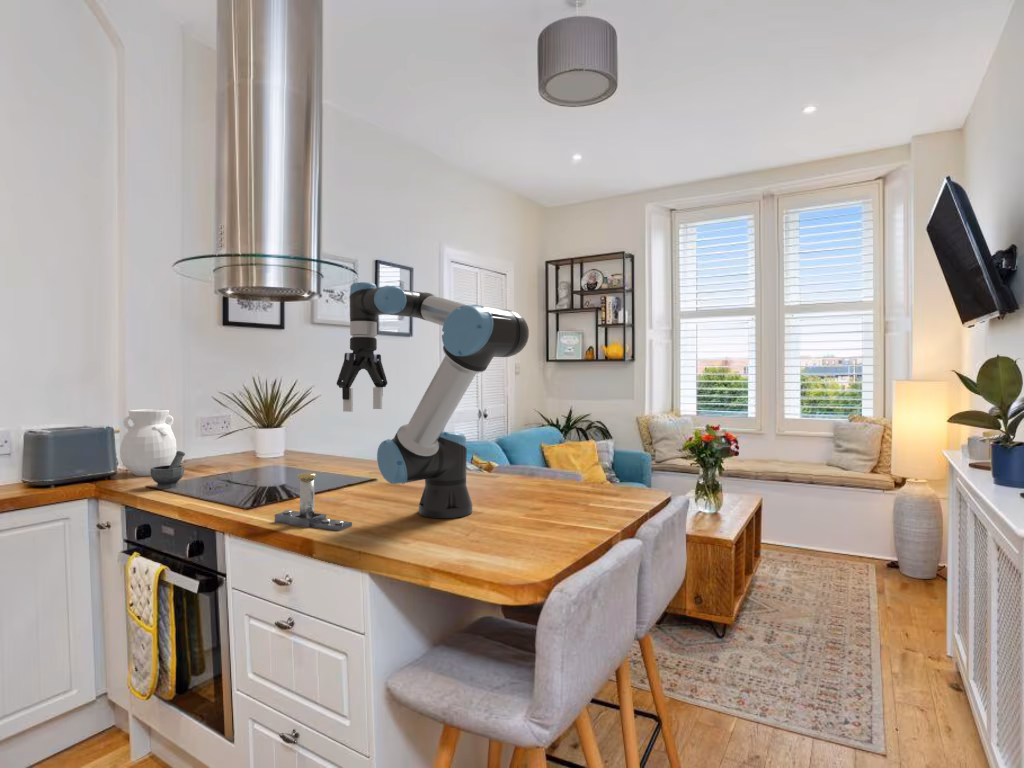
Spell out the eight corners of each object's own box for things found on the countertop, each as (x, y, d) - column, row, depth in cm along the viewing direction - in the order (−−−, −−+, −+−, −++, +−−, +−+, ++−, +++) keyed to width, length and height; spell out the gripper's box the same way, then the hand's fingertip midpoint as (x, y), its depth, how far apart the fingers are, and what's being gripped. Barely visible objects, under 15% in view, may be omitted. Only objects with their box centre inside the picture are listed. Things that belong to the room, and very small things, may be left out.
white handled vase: (164, 468, 233) (163, 407, 232) (185, 473, 222) (185, 409, 221) (111, 474, 217) (111, 410, 217) (132, 480, 207) (131, 412, 206)
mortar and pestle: (163, 491, 188) (163, 455, 187) (144, 488, 191) (144, 453, 191) (193, 484, 198) (193, 450, 198) (174, 482, 202) (174, 449, 201)
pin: (319, 522, 149) (319, 473, 149) (307, 526, 145) (307, 475, 145) (306, 520, 151) (306, 472, 151) (294, 524, 147) (294, 474, 146)
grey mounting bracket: (353, 525, 146) (353, 515, 146) (337, 531, 140) (337, 521, 140) (290, 517, 154) (290, 507, 154) (272, 522, 148) (272, 512, 148)
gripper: (378, 339, 176) (378, 407, 177) (323, 334, 153) (323, 412, 154) (398, 339, 173) (398, 408, 174) (345, 333, 150) (345, 413, 151)
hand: (363, 410), depth 164 cm, fingers open, 13 cm apart
